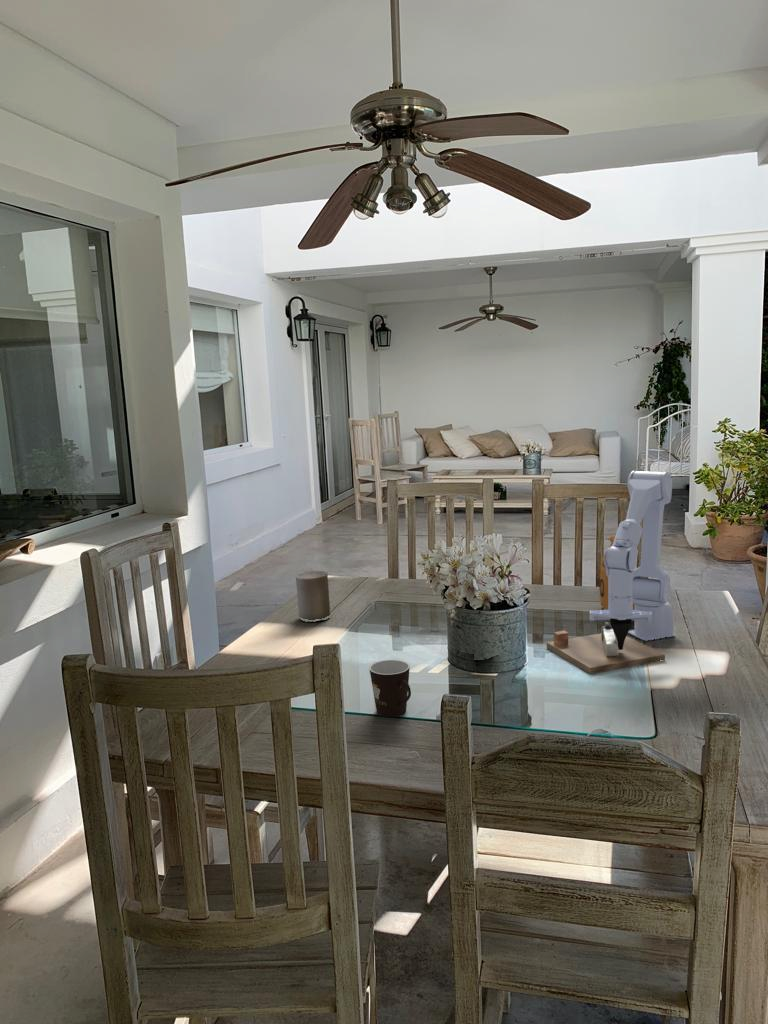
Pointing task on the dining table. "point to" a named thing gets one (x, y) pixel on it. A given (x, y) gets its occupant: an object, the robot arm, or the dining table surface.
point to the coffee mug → (390, 687)
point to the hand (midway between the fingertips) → (620, 648)
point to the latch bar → (609, 639)
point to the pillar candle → (313, 595)
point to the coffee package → (605, 582)
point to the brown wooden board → (601, 652)
